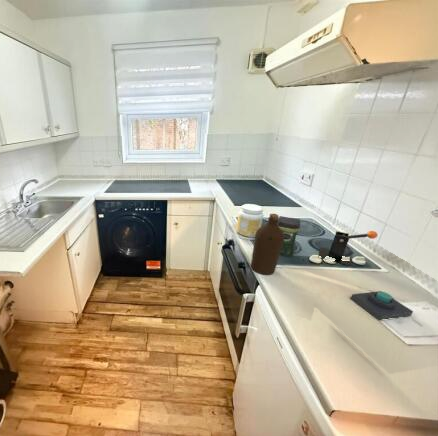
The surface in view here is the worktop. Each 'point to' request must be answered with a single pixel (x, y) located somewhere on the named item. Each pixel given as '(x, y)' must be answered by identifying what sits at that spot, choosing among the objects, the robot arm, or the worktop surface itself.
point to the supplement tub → (249, 221)
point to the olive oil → (267, 247)
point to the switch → (364, 235)
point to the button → (384, 297)
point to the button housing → (380, 306)
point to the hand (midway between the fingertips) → (432, 214)
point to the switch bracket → (337, 249)
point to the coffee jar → (288, 234)
